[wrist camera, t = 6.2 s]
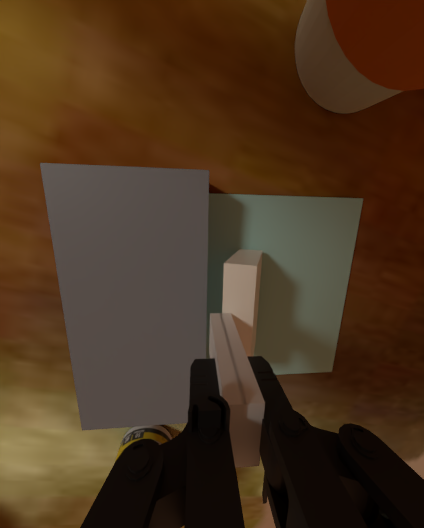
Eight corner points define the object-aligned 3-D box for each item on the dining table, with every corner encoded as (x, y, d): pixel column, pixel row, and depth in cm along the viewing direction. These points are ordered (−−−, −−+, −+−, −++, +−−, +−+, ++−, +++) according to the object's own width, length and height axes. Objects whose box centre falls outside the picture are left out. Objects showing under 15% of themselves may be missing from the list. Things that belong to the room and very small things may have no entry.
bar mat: (205, 193, 17) (205, 193, 17) (360, 198, 18) (363, 198, 18) (203, 376, 21) (203, 378, 21) (330, 369, 22) (331, 371, 22)
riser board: (77, 176, 16) (39, 162, 12) (205, 181, 17) (209, 170, 13) (103, 389, 20) (82, 430, 16) (202, 384, 21) (205, 421, 17)
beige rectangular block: (223, 263, 12) (257, 265, 12) (239, 249, 18) (262, 250, 17) (219, 385, 14) (247, 393, 14) (234, 338, 20) (255, 342, 19)
